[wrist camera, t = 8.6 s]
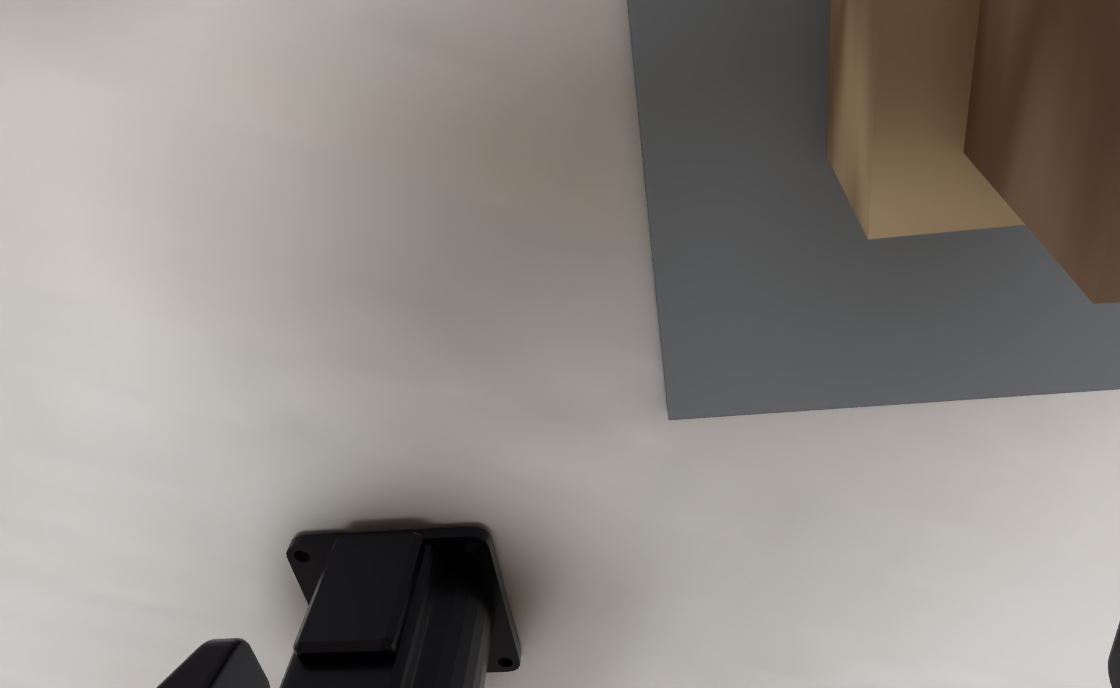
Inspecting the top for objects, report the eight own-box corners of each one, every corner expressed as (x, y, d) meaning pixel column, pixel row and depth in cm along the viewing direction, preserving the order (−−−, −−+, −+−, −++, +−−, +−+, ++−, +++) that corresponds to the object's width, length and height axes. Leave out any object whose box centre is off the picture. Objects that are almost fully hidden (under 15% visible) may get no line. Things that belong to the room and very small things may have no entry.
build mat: (1143, 377, 22) (1151, 387, 22) (668, 411, 24) (668, 420, 23) (1370, -465, 13) (1389, -471, 13) (596, -317, 15) (595, -320, 15)
